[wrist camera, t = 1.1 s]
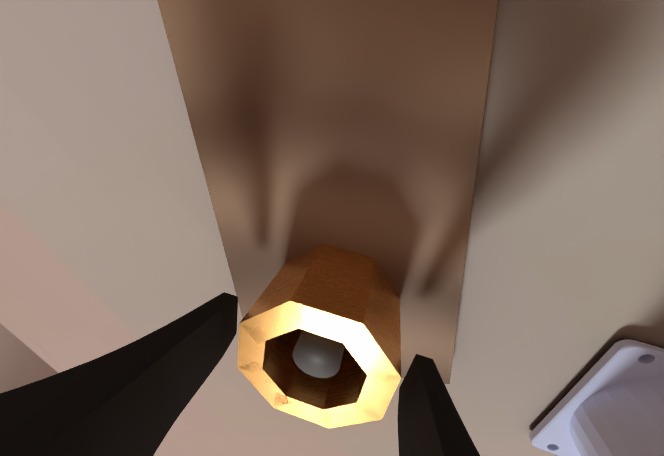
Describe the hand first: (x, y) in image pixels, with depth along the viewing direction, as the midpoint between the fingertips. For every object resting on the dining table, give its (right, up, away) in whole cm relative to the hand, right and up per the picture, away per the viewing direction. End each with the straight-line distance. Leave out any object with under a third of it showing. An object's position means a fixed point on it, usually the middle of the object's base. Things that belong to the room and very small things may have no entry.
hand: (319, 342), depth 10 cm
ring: (+1, +1, +2) cm, 3 cm away
